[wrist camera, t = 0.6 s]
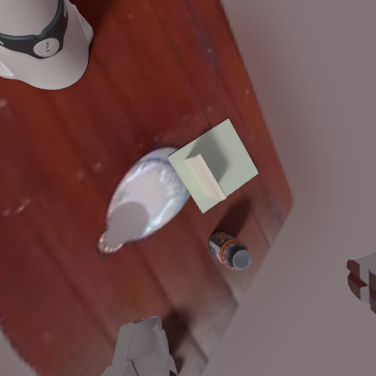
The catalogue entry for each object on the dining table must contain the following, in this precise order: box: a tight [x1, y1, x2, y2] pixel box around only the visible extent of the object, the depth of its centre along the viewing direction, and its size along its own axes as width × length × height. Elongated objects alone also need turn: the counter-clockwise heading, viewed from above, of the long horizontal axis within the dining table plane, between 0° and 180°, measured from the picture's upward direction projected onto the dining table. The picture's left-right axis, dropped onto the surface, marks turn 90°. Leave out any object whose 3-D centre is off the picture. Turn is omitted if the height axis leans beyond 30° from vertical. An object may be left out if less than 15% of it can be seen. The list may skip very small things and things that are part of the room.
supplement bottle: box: [208, 232, 251, 270], centre depth 48 cm, size 6×6×11 cm
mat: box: [167, 118, 258, 213], centre depth 52 cm, size 15×17×1 cm
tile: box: [185, 154, 226, 201], centre depth 47 cm, size 10×1×8 cm, turn 33°
